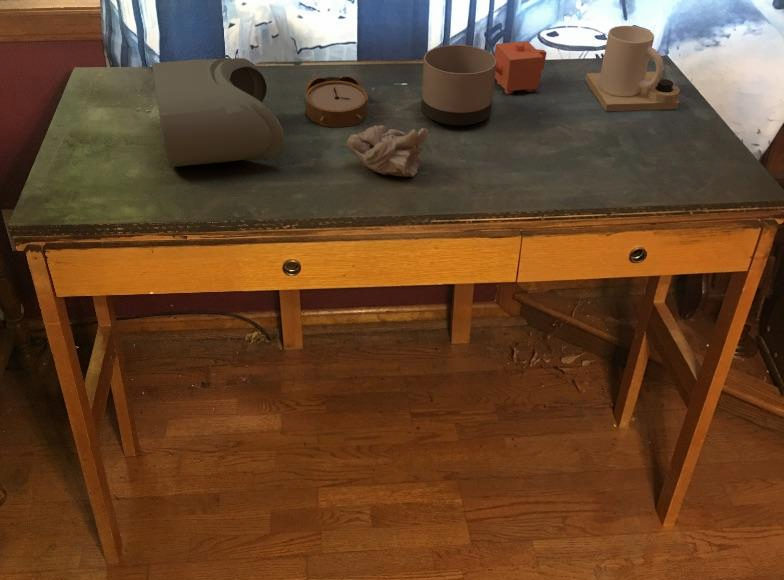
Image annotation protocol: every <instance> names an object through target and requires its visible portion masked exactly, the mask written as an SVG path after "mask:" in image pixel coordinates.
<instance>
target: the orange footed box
mask: <svg viewBox="0 0 784 580" xmlns="http://www.w3.org/2000/svg"><path fill="white" fill-rule="evenodd" d="M493 55H494V56H495V58H496V60H497V63H496V73H495V80H496V81H497V83H496V84H497V85H499V86H501V87H502V88H503V89H504V93H505V94H510V95H511V94H514V92H515V91H523V90H524V92H529V93H530V92H532V91H533V90H535V89H539V88H540V84H541V77H542V71H543V70H544V69H545V64H546V58H547V51H546V50H544V49H538V48H536V47H535V46H534V45H532V43H530V42H529V41H528V40H525V41H514V42H504V43H502V42H501V43H496V44H495V47H494V54H493Z"/></svg>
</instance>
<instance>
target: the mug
mask: <svg viewBox="0 0 784 580" xmlns="http://www.w3.org/2000/svg"><path fill="white" fill-rule="evenodd" d="M654 41H655V34H654V33H653V32H652V31H650V30H649V29H647V28H644V27H640V26H637V25H635V26H634V25H618V26H617V25H616V26H613V27H611V28H610V29H609V30H608V33H607V38H606V44H605V49H604V53H603V59H602V64H601V69H600V72H599V73H600V79H599V86H600V88H601V89H602V90H603V91H604V92H606V93H608V94H610V95H614V96H620V97H629V96H634V95H636V94H638V93H639V92H640V91H641V90H642V88H643V89H648V88H652V87H654V86H656V85H657V84H658V83H659V81H660V80H662V77H663V74H664V71H665V69H664V68H665V65H664V60H663V59H664V58H663V57H662V55H661V54H660V52H659V51H658V50H656V49H655V48H654V47H653V45H654ZM650 59H652V60H653V61H654V63H655V76H654V78H653V79H652V80H650V81H645V80H644V79H645V75H646V72H648V71H647V70H648V66H649V62H650Z"/></svg>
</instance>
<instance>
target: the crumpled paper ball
mask: <svg viewBox="0 0 784 580" xmlns="http://www.w3.org/2000/svg"><path fill="white" fill-rule="evenodd" d="M428 134H429V130H428V129H427V128H425V127H423V128H420V129H419V130H417V129H413V128H412V129H411V130H410V131H409V132H408V133H406V132H405V131H402V130H398V129H394V128H390V129H388V130H387V128H386V126H385V125H383V124H381V125H373V126H371V127H368V128H366V129H365V130H364V131H360V132H359V133H358V134H357V133H353V134H350V135H349V137H347V140H346V147H347V149H348V150H349V151H350V152H351V153H352V154H353V155H355V156H356V157H358V158H359V159H360V160H361V161H362V163H363V165H364V166H365V167H366V168H368V169H369V170H370V171H373V172H376V173H379V174H381V175H383V176H386V175H390V176H394V177H403V178H408V177H409V178H410V177H411V178H413V177H415V176H416V175H417V174H418V170H419V168H420V165H421V163H422V162H421V159H420V158H419V157H418V156H419V155H420V154H421V153H422V152H423V148H422V147H419V146H420V145H421V144H423V143H424V142H425V140H426V138H427V137H428Z"/></svg>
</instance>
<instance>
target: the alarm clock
mask: <svg viewBox="0 0 784 580" xmlns="http://www.w3.org/2000/svg"><path fill="white" fill-rule="evenodd" d="M305 104H306V111H305V112H306V115H307V117H308V119H309V120H311V121H312V122H313V123H315V124H317V125H320V126H322V127H328V128H346V127H347V128H348V127H352V126H354V125H358V124H359V123H362V122H363V121H364V120H365V119H366V117H367V115H368V93H367V91H366V89H364V88H363V87H361V84H360V82H359V81H358V79H357V78H356V77H354V76H352V75H343V76H324V77H321V76H315V77H313V78H311V79H310V80H308V82H307V84H306V87H305Z"/></svg>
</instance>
